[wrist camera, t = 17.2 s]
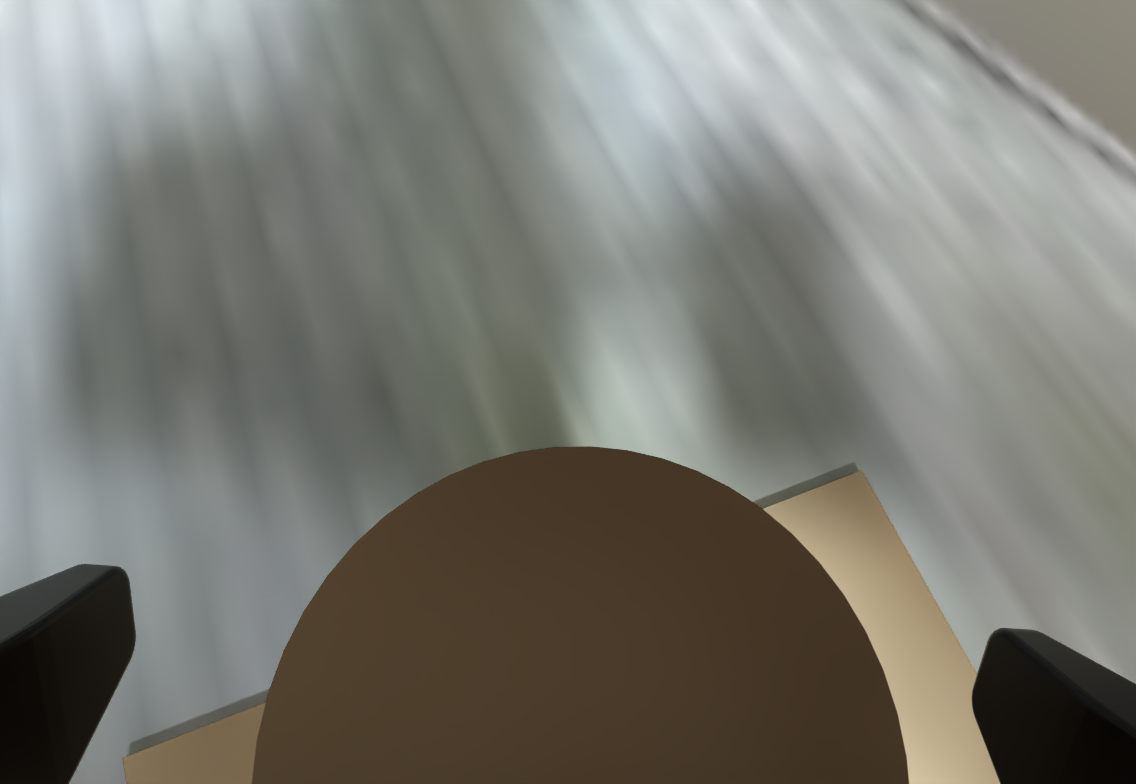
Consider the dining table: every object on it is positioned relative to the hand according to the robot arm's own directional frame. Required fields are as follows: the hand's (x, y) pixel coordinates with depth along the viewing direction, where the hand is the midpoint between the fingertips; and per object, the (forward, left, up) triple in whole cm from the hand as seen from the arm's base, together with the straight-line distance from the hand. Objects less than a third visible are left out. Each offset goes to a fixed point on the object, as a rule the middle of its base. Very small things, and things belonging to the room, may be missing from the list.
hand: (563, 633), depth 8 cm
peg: (-1, -1, -8) cm, 8 cm away
